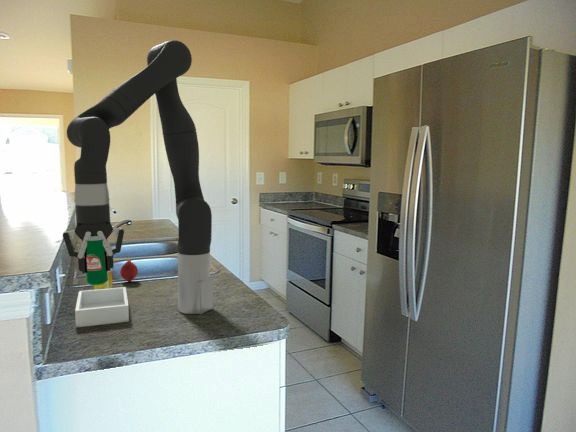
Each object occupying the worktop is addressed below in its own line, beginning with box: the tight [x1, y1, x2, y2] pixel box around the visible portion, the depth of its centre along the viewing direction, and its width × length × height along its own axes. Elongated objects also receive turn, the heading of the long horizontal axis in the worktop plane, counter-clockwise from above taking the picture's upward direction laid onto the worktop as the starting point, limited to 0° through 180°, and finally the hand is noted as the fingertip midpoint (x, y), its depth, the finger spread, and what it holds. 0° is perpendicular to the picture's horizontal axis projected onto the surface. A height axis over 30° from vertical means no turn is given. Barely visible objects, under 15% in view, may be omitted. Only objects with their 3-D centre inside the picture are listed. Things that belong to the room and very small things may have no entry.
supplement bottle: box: [93, 268, 114, 290], centre depth 144 cm, size 6×6×10 cm
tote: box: [74, 286, 130, 328], centre depth 127 cm, size 13×18×4 cm
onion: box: [119, 259, 139, 282], centre depth 158 cm, size 6×6×8 cm
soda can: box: [84, 235, 108, 286], centre depth 109 cm, size 5×5×12 cm
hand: (96, 271), depth 109 cm, fingers closed on soda can, 5 cm apart
